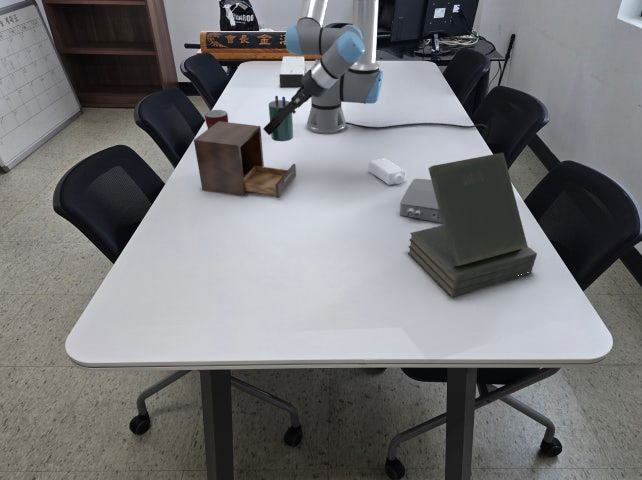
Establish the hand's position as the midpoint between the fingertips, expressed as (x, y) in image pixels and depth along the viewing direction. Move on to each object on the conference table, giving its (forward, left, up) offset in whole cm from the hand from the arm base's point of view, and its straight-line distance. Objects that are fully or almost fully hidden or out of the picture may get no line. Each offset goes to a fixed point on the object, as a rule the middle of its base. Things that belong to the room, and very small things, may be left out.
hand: (271, 127), depth 156 cm
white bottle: (-36, +8, -14) cm, 40 cm away
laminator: (-6, -107, -14) cm, 108 cm away
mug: (+21, -24, -14) cm, 35 cm away
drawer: (+2, +13, -13) cm, 18 cm away
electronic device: (-49, +30, -14) cm, 60 cm away
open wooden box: (+12, +9, -14) cm, 21 cm away
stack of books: (-49, +57, -14) cm, 77 cm away
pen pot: (-3, +1, -3) cm, 4 cm away
